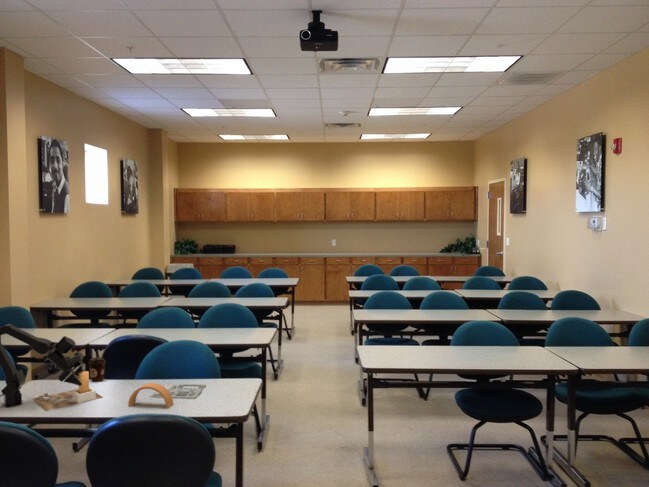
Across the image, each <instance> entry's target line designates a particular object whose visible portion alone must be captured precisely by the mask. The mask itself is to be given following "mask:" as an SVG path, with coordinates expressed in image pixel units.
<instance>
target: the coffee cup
mask: <svg viewBox="0 0 649 487" xmlns="http://www.w3.org/2000/svg"><path fill="white" fill-rule="evenodd" d="M106 363H107V361H106V359H105V358H104V357H92V358H90V359H89V361H88V366H89V367H88V368H89V377H90V380H91V383H99V382H103V381H104V378H105V369H106V367H105V366H106Z"/></svg>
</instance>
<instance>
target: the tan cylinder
mask: <svg viewBox="0 0 649 487" xmlns="http://www.w3.org/2000/svg"><path fill="white" fill-rule="evenodd" d="M78 380H79V381H80V382H81V383H82V385H81V386H79V385H78V389H79V394H82V393H86V392H89V387H90V371H89V370H84V371H82V372H79V376H78Z"/></svg>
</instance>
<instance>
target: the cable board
mask: <svg viewBox="0 0 649 487" xmlns="http://www.w3.org/2000/svg"><path fill="white" fill-rule="evenodd" d="M78 389H79V388H77V389H73V390H67V391H63V392H59V393H58V392H57V393H54V394H50V395H49V393H48V392H44V393H43V394H39V395H37V396H36V395H35V396H34V398H32V399H31V400H32V401H33V402H35V404H36V405H38V406H39V407H40V408H41V409H42V410H44V411H45V412H48V411H53V410H57V409H62V408H65V407H70V406H73V405H78V404H79V403H78V402H76V399H75V398H73V397H72V391H74V390H78ZM103 398H104V397H103V396H102V395H100V394H98V393H97V392H96V399H93V400H89V401H85V402H81V403H80V404H82V403H87V402H92V401H94V400H95V401H96V400H99V399H103Z"/></svg>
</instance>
